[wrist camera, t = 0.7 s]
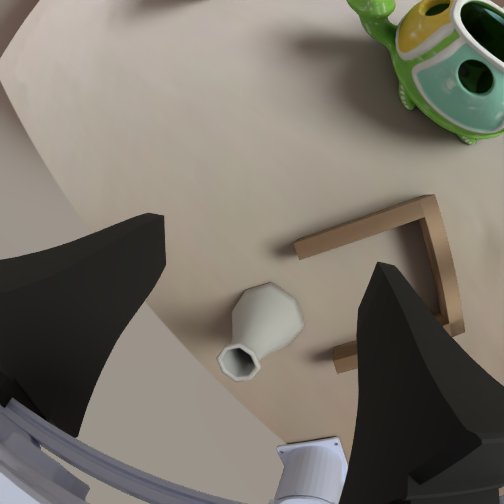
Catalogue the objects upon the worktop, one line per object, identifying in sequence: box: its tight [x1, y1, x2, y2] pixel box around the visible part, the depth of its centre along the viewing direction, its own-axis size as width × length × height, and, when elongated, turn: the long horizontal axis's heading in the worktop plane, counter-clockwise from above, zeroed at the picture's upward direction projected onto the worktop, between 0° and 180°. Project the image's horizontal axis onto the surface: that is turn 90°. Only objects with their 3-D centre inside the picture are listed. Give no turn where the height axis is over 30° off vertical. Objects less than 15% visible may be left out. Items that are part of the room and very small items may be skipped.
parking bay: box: [294, 194, 465, 374], centre depth 27 cm, size 13×13×3 cm
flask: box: [216, 282, 305, 382], centre depth 27 cm, size 7×7×10 cm
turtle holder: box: [347, 0, 504, 145], centre depth 18 cm, size 12×18×12 cm
